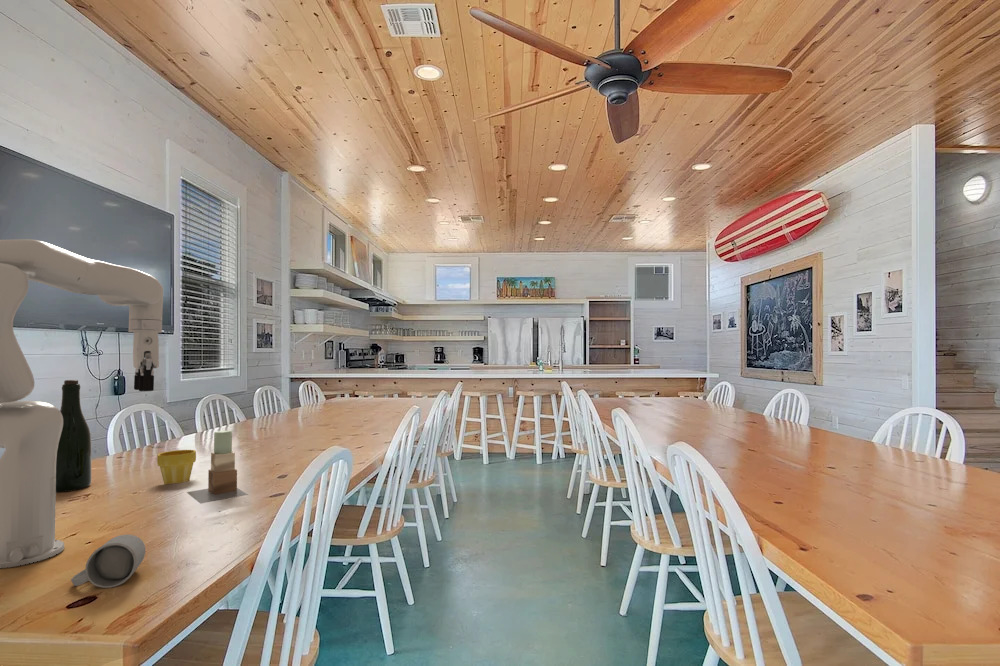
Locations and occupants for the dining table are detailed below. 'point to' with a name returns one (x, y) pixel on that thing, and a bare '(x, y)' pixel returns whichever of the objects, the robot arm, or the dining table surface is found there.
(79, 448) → the beer bottle
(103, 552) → the ceramic mug
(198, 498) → the slate board
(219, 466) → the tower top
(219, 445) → the pale green rounded piece
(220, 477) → the tower base
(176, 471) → the plant pot
